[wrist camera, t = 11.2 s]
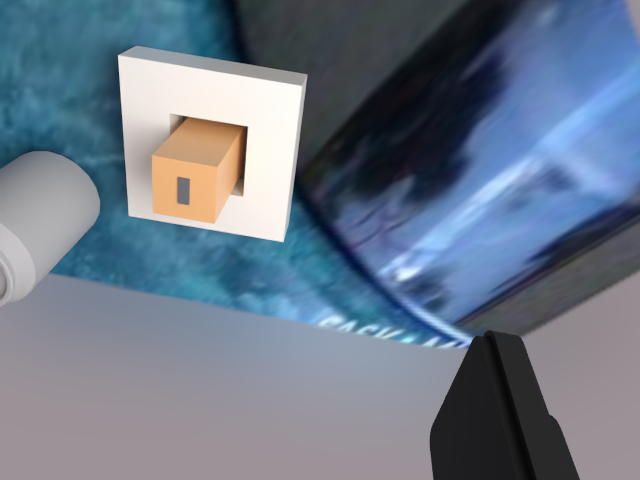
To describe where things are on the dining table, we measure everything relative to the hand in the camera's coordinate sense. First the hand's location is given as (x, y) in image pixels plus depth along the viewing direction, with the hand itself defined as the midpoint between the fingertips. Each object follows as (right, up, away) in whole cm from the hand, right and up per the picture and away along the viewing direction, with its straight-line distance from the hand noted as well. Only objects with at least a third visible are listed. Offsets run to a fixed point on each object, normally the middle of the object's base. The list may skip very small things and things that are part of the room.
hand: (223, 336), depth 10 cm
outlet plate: (-6, +9, +29) cm, 31 cm away
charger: (-6, +9, +29) cm, 31 cm away
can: (-20, +6, +33) cm, 39 cm away
